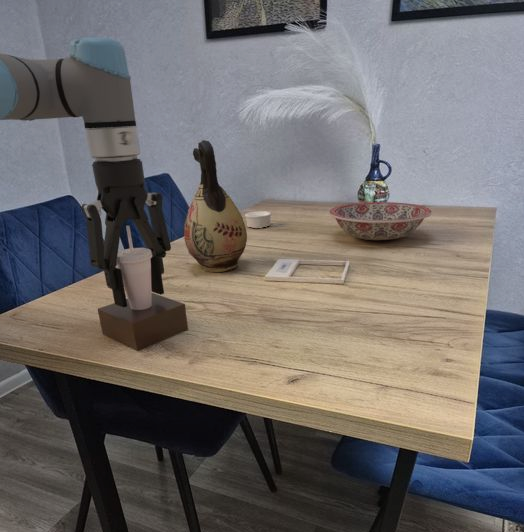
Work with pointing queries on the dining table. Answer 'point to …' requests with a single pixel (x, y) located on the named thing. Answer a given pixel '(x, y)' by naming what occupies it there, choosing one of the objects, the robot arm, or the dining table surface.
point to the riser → (143, 322)
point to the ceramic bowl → (379, 219)
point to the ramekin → (258, 219)
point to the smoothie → (136, 274)
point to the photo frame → (288, 266)
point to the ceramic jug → (213, 219)
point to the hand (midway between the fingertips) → (140, 298)
